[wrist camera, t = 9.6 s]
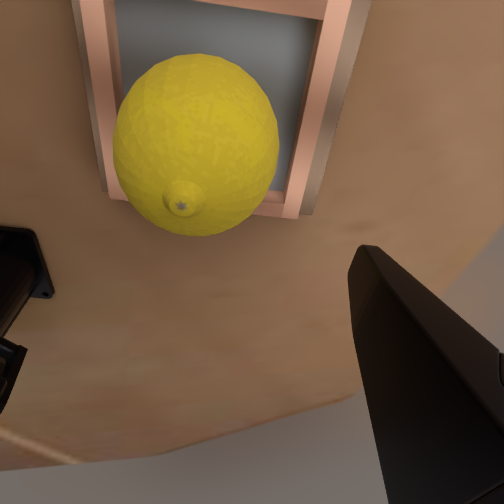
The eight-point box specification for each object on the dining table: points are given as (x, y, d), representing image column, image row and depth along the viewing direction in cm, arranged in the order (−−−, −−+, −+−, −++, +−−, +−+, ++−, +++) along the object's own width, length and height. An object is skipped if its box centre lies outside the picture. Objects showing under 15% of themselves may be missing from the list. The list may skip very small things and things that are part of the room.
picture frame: (308, 197, 23) (318, 244, 19) (113, 174, 22) (84, 219, 18) (373, -51, 15) (409, -52, 11) (75, -101, 14) (13, -119, 10)
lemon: (295, 65, 15) (322, 148, 8) (249, 179, 18) (245, 299, 12) (159, 9, 13) (77, 58, 7) (137, 143, 17) (68, 254, 11)
